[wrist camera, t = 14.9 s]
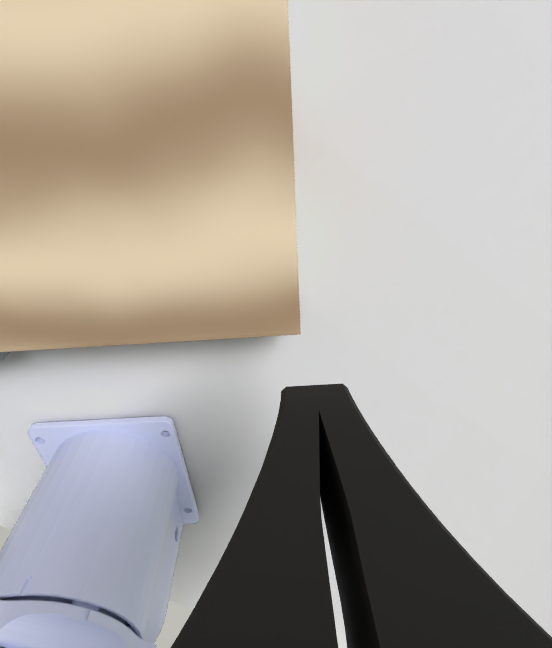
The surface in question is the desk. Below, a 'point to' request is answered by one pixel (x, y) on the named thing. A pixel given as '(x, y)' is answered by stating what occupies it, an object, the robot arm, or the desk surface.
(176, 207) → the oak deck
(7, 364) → the desk surface
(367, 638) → the robot arm
